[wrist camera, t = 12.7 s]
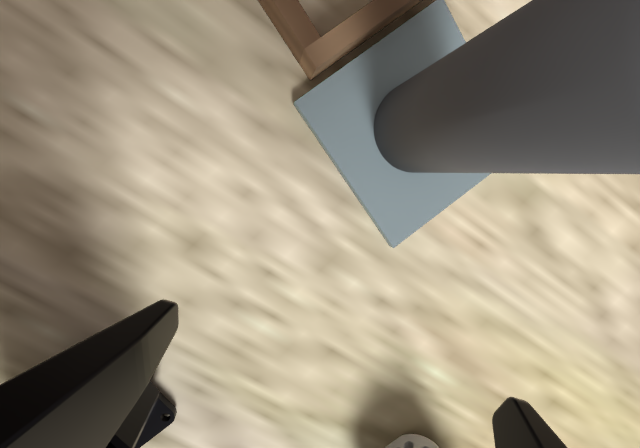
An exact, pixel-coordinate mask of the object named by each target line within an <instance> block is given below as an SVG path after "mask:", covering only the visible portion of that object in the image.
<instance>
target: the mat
mask: <svg viewBox="0 0 640 448" xmlns="http://www.w3.org/2000/svg"><path fill="white" fill-rule="evenodd" d="M465 43H466V42H465V40H464V38H463V36H462V34H461V32H460V30H459V28H458V26H457V25H456V23H455V21H454V19H453V17H452V15H451V13H450V11H449V9H448V7H447V5H446V3H445V1H444V0H436V1H435V2H433V3H432V4H430V5H429V6H428V7H426V8H425V9H423V10H422V11H421V12H419V13H418V14H416V15H415V16H414V17H412V18H411V19H409V20H408V21H407V22H405V23H404V24H402V25H401V26H400V27H398V28H397V29H395V30H394V31H393V32H391V33H390V34H388V35H387V36H386V37H384V38H383V39H381V40H380V41H379V42H377V43H376V44H374V45H373V46H372V47H370V48H369V49H367V50H366V51H365V52H363V53H362V54H360V55H359V56H358V57H356V58H355V59H353V60H352V61H351V62H349V63H348V64H346V65H345V66H344V67H342V68H341V69H339V70H338V71H337V72H335V73H334V74H332V75H331V76H330V77H328V78H327V79H325V80H324V81H323V82H321V83H320V84H318V85H317V86H316V87H314V88H313V89H311V90H310V91H309V92H307V93H306V94H304V95H303V96H302V97H300V98H299V99H298V100H296V101H295V102H294V106H295V107H296V109H297V110H298V112H299V113H300V115H301V116H302V118H303V119H304V121H305V122H306V124H307V125H308V126H309V128H310V129H311V131H312V132H313V134H314V135H315V137H316V138H317V140H318V141H319V143H320V144H321V146H322V147H323V149H324V150H325V152H326V153H327V154H328V156H329V157H330V159H331V160H332V162H333V163H334V165H335V166H336V168H337V169H338V171H339V172H340V174H341V175H342V177H343V178H344V180H345V181H346V182H347V184H348V185H349V187H350V188H351V190H352V191H353V193H354V194H355V196H356V197H357V199H358V200H359V202H360V203H361V205H362V206H363V207H364V209H365V210H366V212H367V213H368V215H369V216H370V218H371V219H372V221H373V222H374V224H375V225H376V227H377V228H378V230H379V231H380V233H381V234H382V235H383V237H384V238H385V240H386V241H387V243H388V244H389V246H391V247H392V248H394V247H396V246H397V245H398V244H400V243H401V242H402V241H403V240H405V239H406V238H407V237H409V236H410V235H411V234H413V233H414V232H415V231H416V230H418V229H419V228H420V227H422V226H423V225H424V224H426V223H427V222H428V221H430V220H431V219H432V218H433V217H435V216H436V215H437V214H439V213H440V212H441V211H443V210H444V209H445V208H447V207H448V206H449V205H450V204H452V203H453V202H454V201H456V200H457V199H458V198H460V197H461V196H462V195H464V194H465V193H466V192H467V191H469V190H470V189H471V188H473V187H474V186H475V185H477V184H478V183H479V182H480V181H482V180H483V179H484V178H486V177H487V176H488V175H490V174H491V173H411V172H405V171H401V170H399V169H397V168H395V167H393V166H392V165H390V164H389V163H388V162H387V161H386V160H385V159H384V158H383V156H382V155H381V153H380V151H379V149H378V147H377V145H376V141H375V137H374V120H375V116H376V112H377V110H378V107H379V105H380V103H381V102H382V100H383V99H384V97H385V96H386V95H387V94H388V93H389V92H390V91H391V90H393V89H394V88H396V87H397V86H399V85H400V84H402V83H404V82H405V81H407V80H408V79H410V78H411V77H413V76H414V75H416V74H418V73H419V72H421V71H422V70H424V69H425V68H427V67H429V66H430V65H432V64H433V63H435V62H436V61H438V60H440V59H441V58H443V57H444V56H446V55H447V54H449V53H451V52H452V51H454V50H455V49H457V48H458V47H460V46H462V45H463V44H465Z"/></svg>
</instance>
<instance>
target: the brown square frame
mask: <svg viewBox="0 0 640 448" xmlns="http://www.w3.org/2000/svg"><path fill="white" fill-rule="evenodd" d="M258 1H259V3H260V4H261V6H262V7H263V9H264V10H265V12H266V14H267V15H268V17H269V18H270V20H271V21H272V23H273V24H274V26H275V27H276V29H277V30H278V32H279V33H280V35H281V37H282V38H283V40H284V41H285V43H286V44H287V46H288V47H289V49H290V50H291V52H292V53H293V55H294V56H295V58H296V60H297V61H298V63H299V64H300V66H301V67H302V69H303V70H304V72H305V73H306V75H307V76H308V78H309V79H310V80H311V79H313V78H314V77H316V76H317V75H318V74H320V73H321V72H323V71H324V70H325V69H327V68H328V67H330V66H331V65H332V64H334V63H335V62H337V61H338V60H339V59H341V58H342V57H344V56H345V55H346V54H348V53H349V52H351V51H352V50H353V49H355V48H356V47H358V46H359V45H360V44H362V43H363V42H365V41H366V40H368V39H369V38H370V37H372V36H373V35H375V34H376V33H377V32H379V31H380V30H382V29H383V28H384V27H386V26H387V25H389V24H390V23H391V22H393V21H394V20H396V19H397V18H398V17H400V16H401V15H403V14H404V13H405V12H407V11H408V10H410V9H411V8H412V7H414V6H415V5H417V4H418V3H419V2H421V1H422V0H373V1H371V2H370V3H369V4H367V5H366V6H364V7H363V8H362V9H360V10H359V11H357V12H356V13H354V14H353V15H352V16H350V17H349V18H347V19H346V20H345V21H343V22H342V23H340V24H339V25H337V26H336V27H335V28H333V29H332V30H330V31H329V32H328V33H326V34H325V35H323V36H322V37H320V35H319V33H318V32H317V30H316V29H315V27H314V25H313V24H312V22H311V21H310V19H309V17H308V16H307V14H306V12H305V11H304V9H303V8H302V6H301V4H300V3H299V1H298V0H258Z"/></svg>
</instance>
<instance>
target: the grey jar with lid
mask: <svg viewBox="0 0 640 448" xmlns="http://www.w3.org/2000/svg"><path fill="white" fill-rule="evenodd" d="M374 137H375V141H376V145H377V147H378V149H379V151H380V153H381V155H382V156H383V158H384V159H385V160H386V161H387V162H388V163H389V164H390V165H392V166H393V167H395V168H397V169H399V170H401V171H405V172H411V173H558V174H640V0H532V1H531V2H529V3H528V4H526V5H524V6H523V7H521V8H520V9H518V10H517V11H515V12H513V13H512V14H510V15H509V16H507V17H506V18H504V19H502V20H501V21H499V22H498V23H496V24H495V25H493V26H491V27H490V28H488V29H487V30H485V31H484V32H482V33H480V34H479V35H477V36H476V37H474V38H473V39H471V40H469V41H468V42H466V43H465V44H463V45H462V46H460V47H458V48H457V49H455V50H454V51H452V52H451V53H449V54H447V55H446V56H444V57H443V58H441V59H440V60H438V61H436V62H435V63H433V64H432V65H430V66H429V67H427V68H425V69H424V70H422V71H421V72H419V73H418V74H416V75H414V76H413V77H411V78H410V79H408V80H407V81H405V82H404V83H402V84H400V85H399V86H397V87H396V88H394V89H393V90H391V91H390V92H389V93H388V94H387V95H386V96H385V97H384V99H383V100H382V102H381V103H380V105H379V107H378V110H377V112H376V116H375V120H374Z"/></svg>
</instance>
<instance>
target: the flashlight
mask: <svg viewBox="0 0 640 448" xmlns="http://www.w3.org/2000/svg"><path fill="white" fill-rule="evenodd" d="M385 448H439V447H438V445H437V444H435V443H434V442H433V441H432V440H430V439H428V438H427V437H424V436H421V435H417V434H406V435H401V436H400V437H398V438H397V439H396V440H394V441H393V442H391V443H390V444H389V445H387V446H386V447H385Z"/></svg>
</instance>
